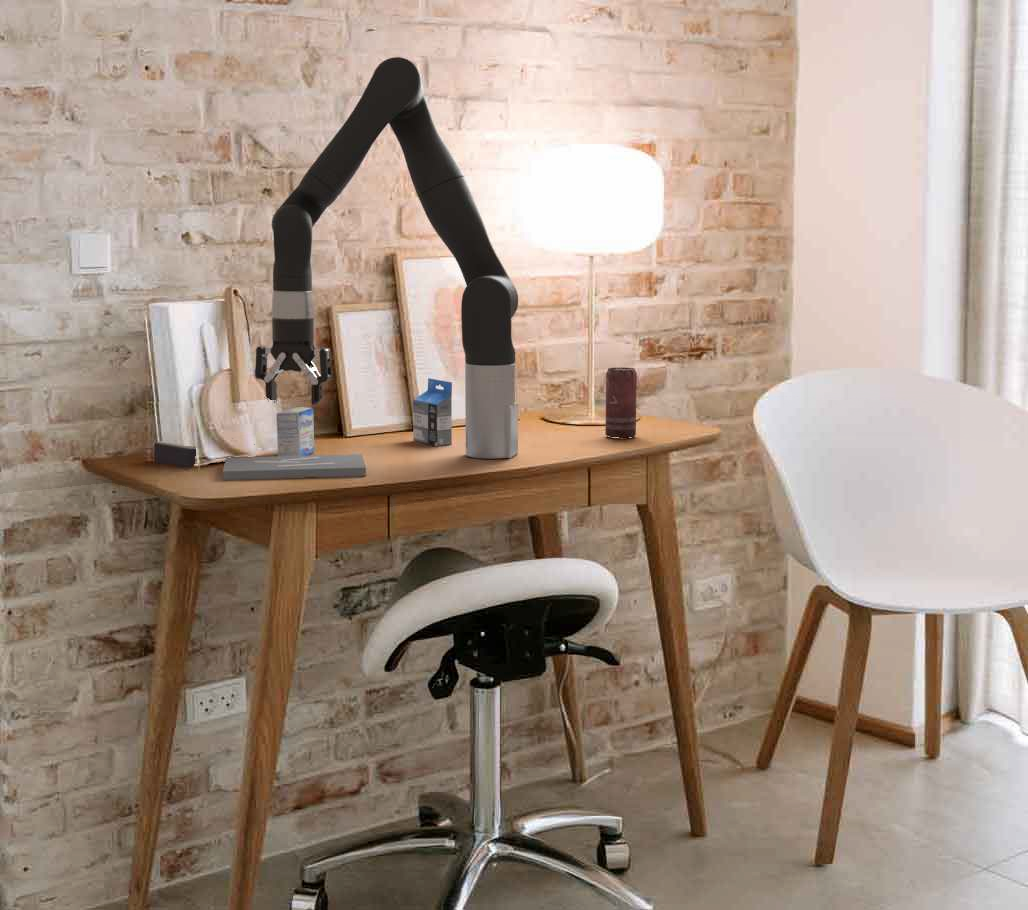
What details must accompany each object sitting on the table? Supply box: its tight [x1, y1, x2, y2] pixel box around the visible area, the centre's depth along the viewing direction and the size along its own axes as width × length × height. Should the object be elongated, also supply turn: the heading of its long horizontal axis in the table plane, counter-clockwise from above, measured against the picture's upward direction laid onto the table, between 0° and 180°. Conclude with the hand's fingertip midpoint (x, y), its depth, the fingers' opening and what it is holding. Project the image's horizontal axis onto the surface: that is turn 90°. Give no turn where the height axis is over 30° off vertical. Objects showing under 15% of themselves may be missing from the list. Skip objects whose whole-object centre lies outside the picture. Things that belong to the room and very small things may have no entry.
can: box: [605, 367, 638, 438], centre depth 276 cm, size 6×6×14 cm
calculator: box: [153, 440, 196, 469], centre depth 251 cm, size 11×4×15 cm
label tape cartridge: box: [412, 377, 453, 447], centre depth 269 cm, size 9×4×12 cm, turn 36°
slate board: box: [222, 453, 367, 481], centre depth 239 cm, size 24×14×2 cm, turn 99°
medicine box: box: [276, 406, 315, 456], centre depth 254 cm, size 8×4×9 cm, turn 168°
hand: (293, 403), depth 254 cm, fingers open, 8 cm apart
